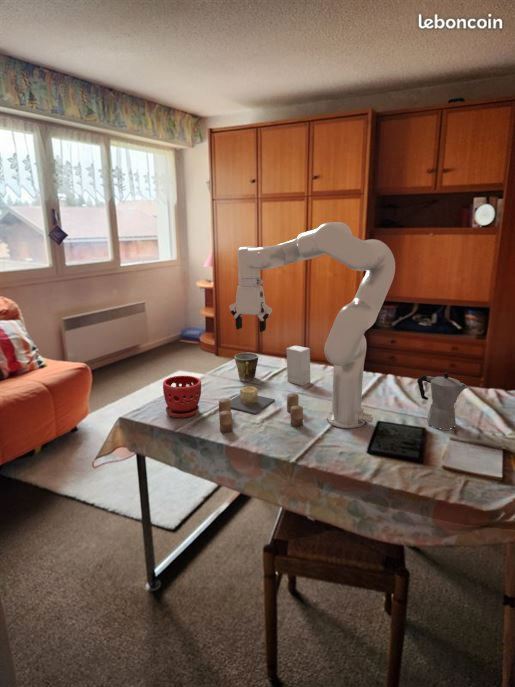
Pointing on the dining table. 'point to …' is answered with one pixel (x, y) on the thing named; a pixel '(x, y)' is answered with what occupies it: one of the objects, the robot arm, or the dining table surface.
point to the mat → (251, 409)
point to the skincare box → (298, 365)
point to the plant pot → (182, 395)
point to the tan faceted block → (248, 395)
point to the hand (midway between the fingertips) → (250, 329)
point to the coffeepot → (442, 399)
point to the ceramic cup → (246, 365)
